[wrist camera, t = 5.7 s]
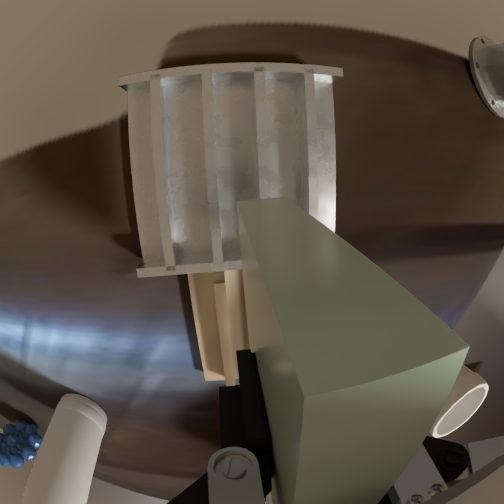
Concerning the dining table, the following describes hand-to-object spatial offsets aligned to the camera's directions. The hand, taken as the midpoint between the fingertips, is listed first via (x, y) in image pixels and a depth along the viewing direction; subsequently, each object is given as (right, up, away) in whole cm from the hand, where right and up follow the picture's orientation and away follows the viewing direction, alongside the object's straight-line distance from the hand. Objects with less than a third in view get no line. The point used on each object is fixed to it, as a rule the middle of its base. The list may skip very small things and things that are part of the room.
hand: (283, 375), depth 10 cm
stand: (-2, -3, +20) cm, 21 cm away
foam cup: (+23, -11, +27) cm, 37 cm away
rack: (-3, +12, +15) cm, 20 cm away
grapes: (-43, -28, +24) cm, 56 cm away
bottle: (-26, -19, +23) cm, 40 cm away
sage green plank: (0, +1, +4) cm, 4 cm away
